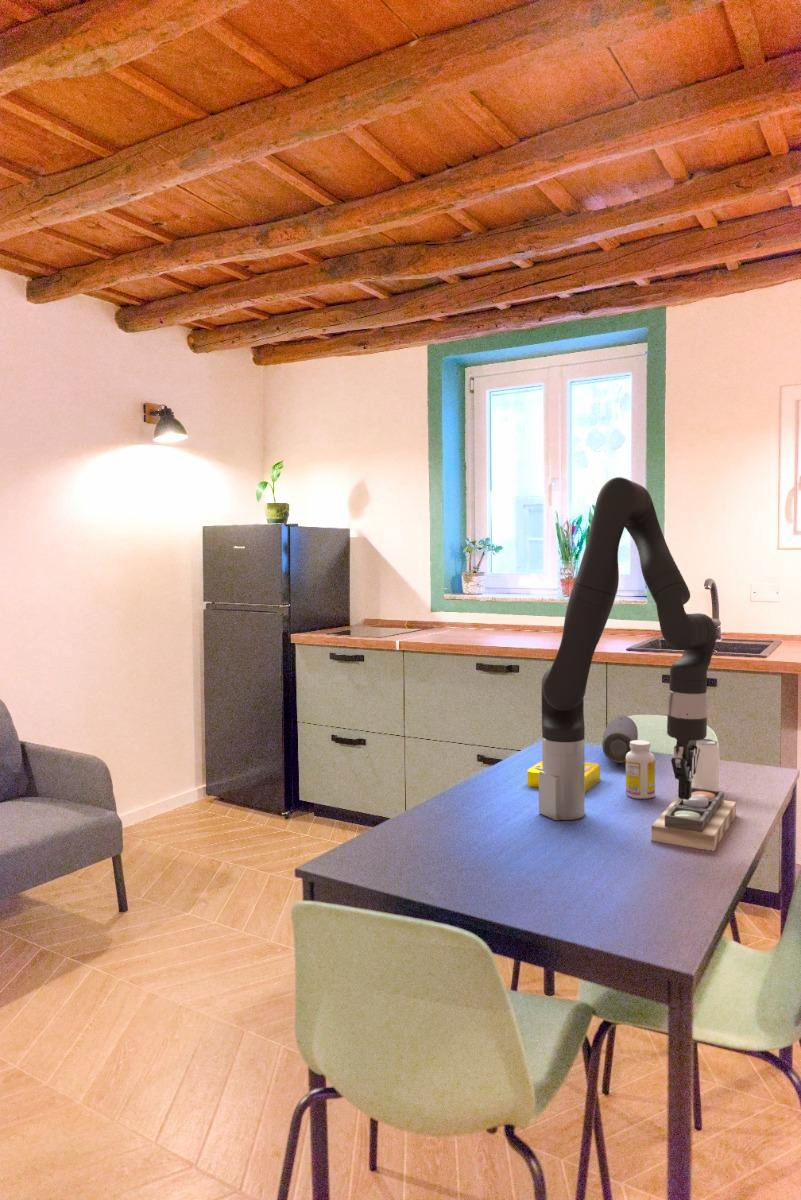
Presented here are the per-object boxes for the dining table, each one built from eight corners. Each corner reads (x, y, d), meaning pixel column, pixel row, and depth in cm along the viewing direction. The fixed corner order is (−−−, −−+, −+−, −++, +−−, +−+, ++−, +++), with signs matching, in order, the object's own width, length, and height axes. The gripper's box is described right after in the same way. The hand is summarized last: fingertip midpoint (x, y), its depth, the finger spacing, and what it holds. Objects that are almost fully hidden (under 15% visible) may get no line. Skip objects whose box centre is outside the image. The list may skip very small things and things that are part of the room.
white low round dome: (705, 812, 169) (705, 803, 169) (680, 808, 172) (680, 799, 172) (710, 805, 174) (710, 796, 173) (686, 801, 176) (686, 793, 176)
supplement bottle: (651, 791, 198) (651, 739, 197) (657, 800, 192) (657, 745, 191) (623, 791, 199) (623, 738, 198) (628, 799, 192) (628, 745, 191)
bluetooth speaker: (605, 746, 243) (605, 712, 242) (638, 748, 240) (638, 714, 239) (600, 766, 221) (600, 729, 221) (636, 768, 218) (636, 731, 218)
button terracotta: (712, 807, 176) (712, 799, 176) (688, 804, 178) (688, 796, 178) (717, 801, 180) (717, 793, 180) (693, 798, 183) (693, 790, 182)
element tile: (582, 796, 197) (582, 776, 196) (524, 787, 205) (524, 768, 204) (602, 780, 210) (602, 761, 209) (547, 772, 217) (546, 754, 217)
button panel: (713, 851, 160) (714, 824, 159) (651, 840, 166) (651, 815, 166) (735, 815, 180) (736, 792, 180) (679, 806, 186) (679, 784, 186)
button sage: (697, 829, 163) (697, 820, 163) (671, 825, 166) (671, 816, 166) (702, 821, 167) (702, 813, 167) (677, 817, 170) (677, 809, 170)
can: (721, 795, 195) (721, 745, 194) (692, 793, 196) (692, 744, 195) (716, 787, 201) (716, 738, 200) (688, 785, 202) (688, 737, 201)
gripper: (698, 721, 157) (695, 810, 158) (714, 709, 168) (711, 793, 169) (658, 716, 161) (656, 803, 162) (676, 705, 172) (674, 787, 173)
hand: (684, 798), depth 166 cm, fingers closed
